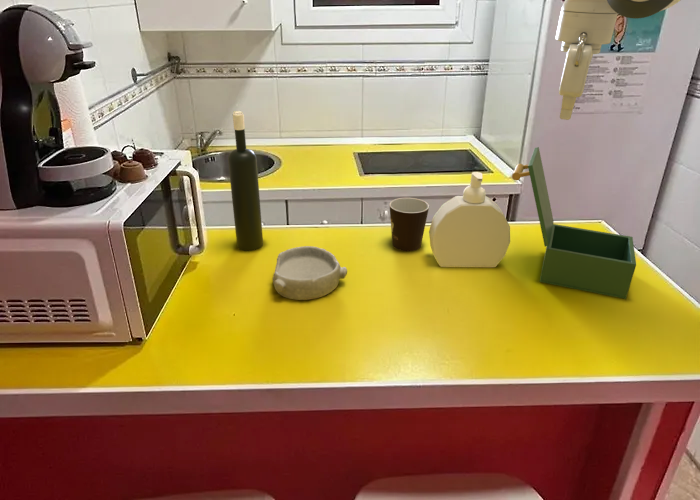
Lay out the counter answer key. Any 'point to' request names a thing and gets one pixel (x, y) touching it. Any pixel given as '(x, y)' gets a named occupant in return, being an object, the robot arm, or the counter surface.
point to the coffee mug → (408, 223)
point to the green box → (589, 261)
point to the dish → (307, 273)
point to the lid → (538, 192)
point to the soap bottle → (469, 230)
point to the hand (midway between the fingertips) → (566, 112)
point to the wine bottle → (245, 190)
